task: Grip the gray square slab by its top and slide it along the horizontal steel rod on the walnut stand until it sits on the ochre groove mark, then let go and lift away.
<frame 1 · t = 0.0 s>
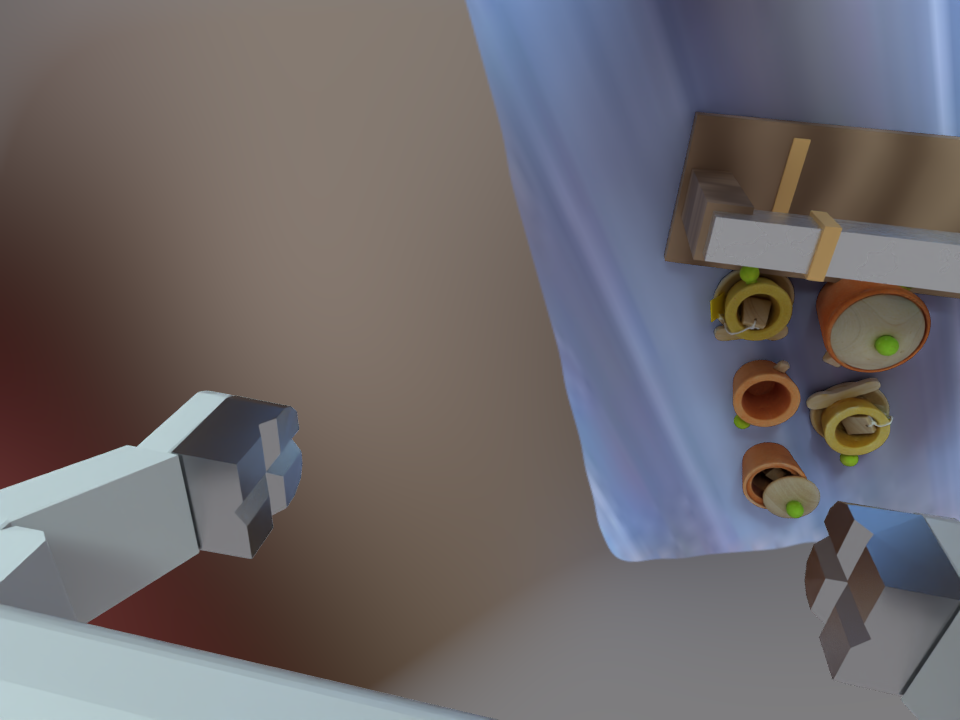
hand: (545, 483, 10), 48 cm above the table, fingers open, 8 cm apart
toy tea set: (801, 374, 60), on the table, touching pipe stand
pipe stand: (868, 208, 51), on the table
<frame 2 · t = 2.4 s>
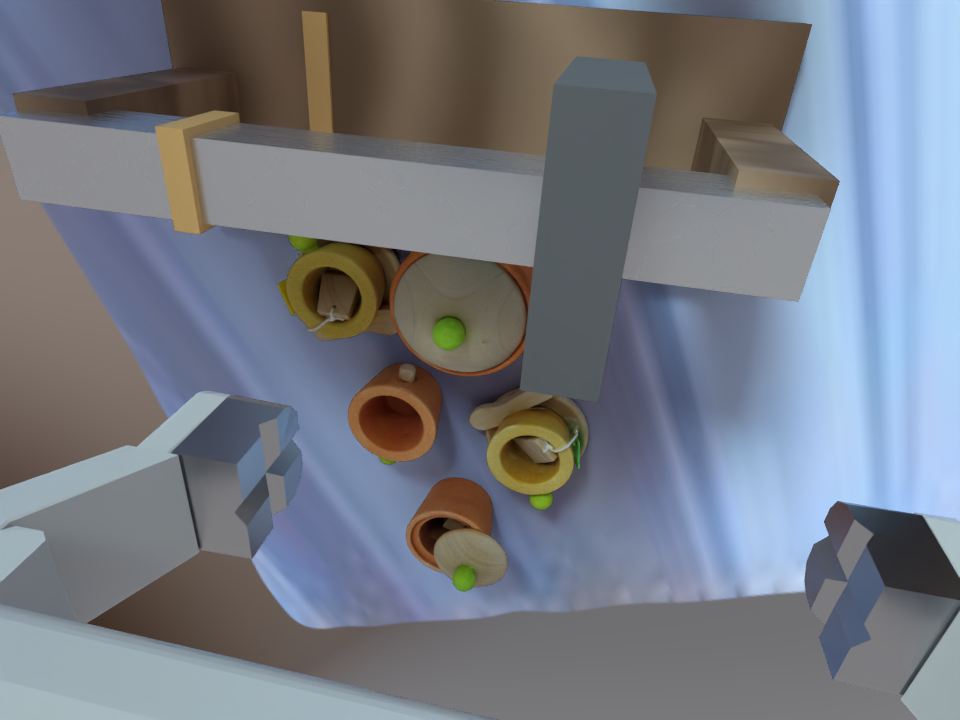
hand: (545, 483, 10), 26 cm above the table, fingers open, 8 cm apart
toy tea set: (464, 380, 41), on the table, touching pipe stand
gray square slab: (586, 215, 21), point 12 cm above the table, slide at 7.0 cm
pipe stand: (462, 131, 33), on the table
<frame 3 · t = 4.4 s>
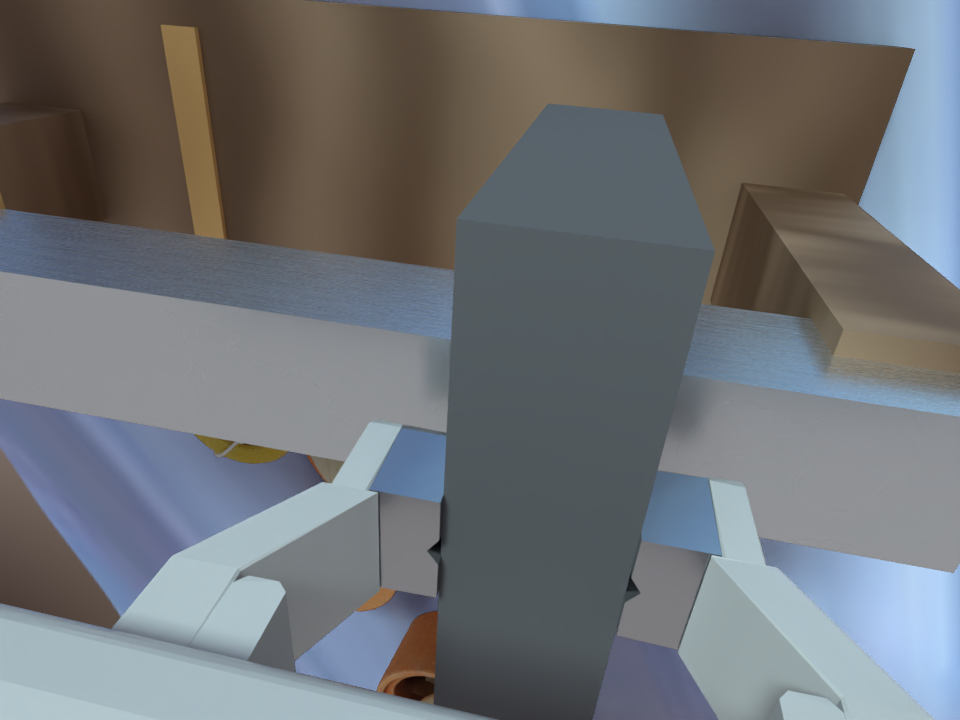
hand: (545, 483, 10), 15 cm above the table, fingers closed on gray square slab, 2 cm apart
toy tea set: (436, 493, 31), on the table, touching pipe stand
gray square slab: (561, 387, 12), point 12 cm above the table, slide at 7.0 cm, touching gripper
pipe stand: (400, 192, 23), on the table
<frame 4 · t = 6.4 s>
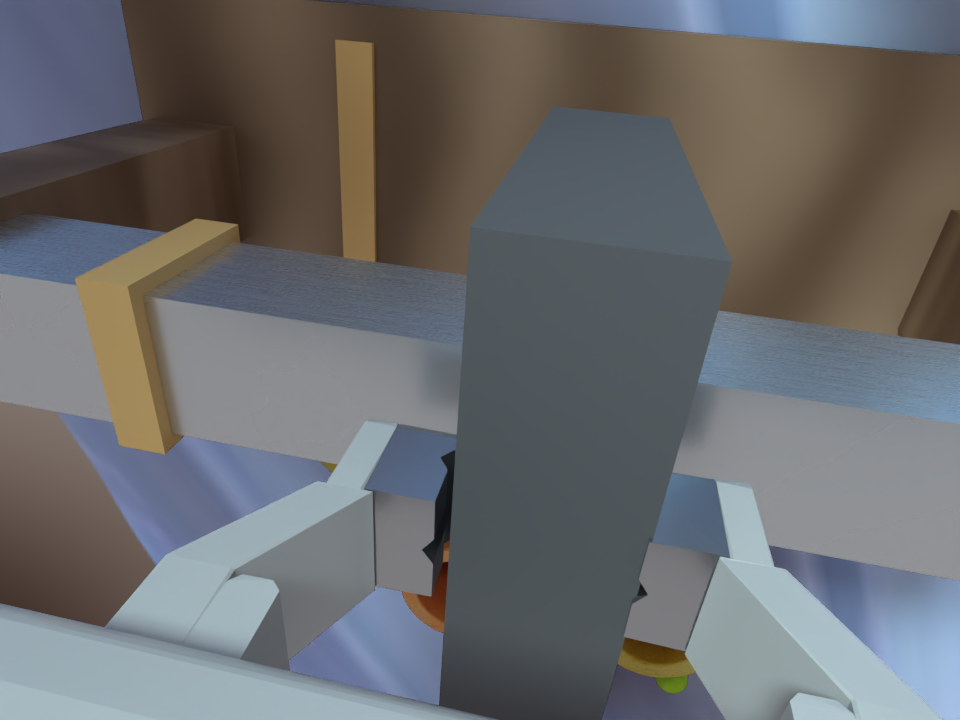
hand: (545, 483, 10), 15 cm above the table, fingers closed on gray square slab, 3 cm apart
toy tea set: (552, 518, 30), on the table, touching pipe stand
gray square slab: (566, 393, 12), point 12 cm above the table, slide at 1.1 cm, touching gripper
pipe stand: (561, 212, 23), on the table
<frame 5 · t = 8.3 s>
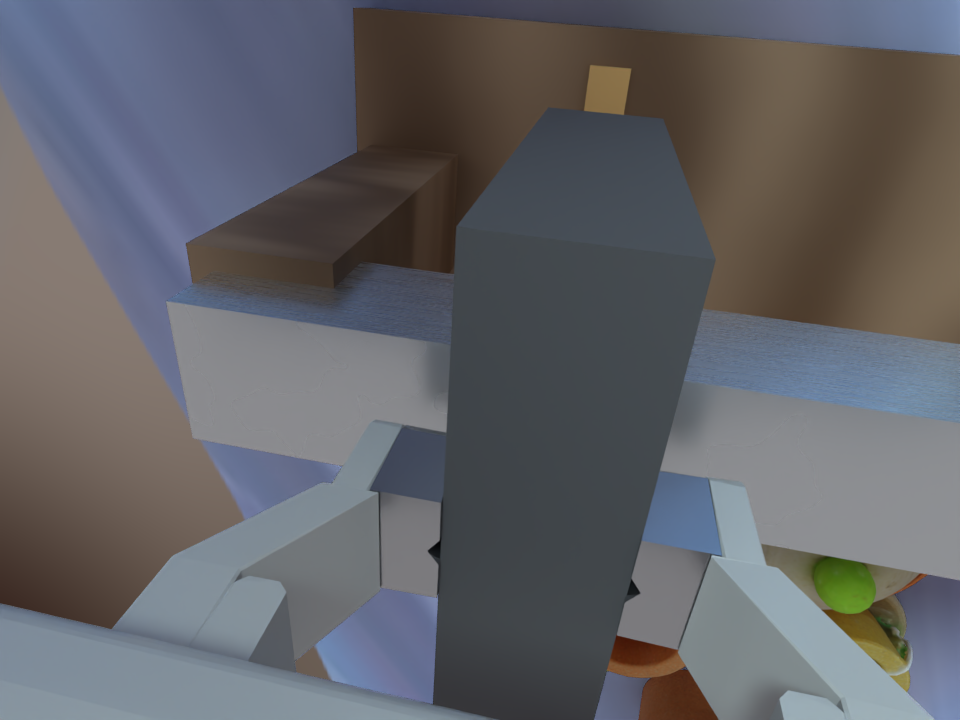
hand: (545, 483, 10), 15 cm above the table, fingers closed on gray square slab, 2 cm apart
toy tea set: (714, 552, 29), on the table, touching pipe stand
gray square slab: (561, 392, 12), point 12 cm above the table, slide at -6.9 cm, touching gripper
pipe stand: (793, 242, 22), on the table
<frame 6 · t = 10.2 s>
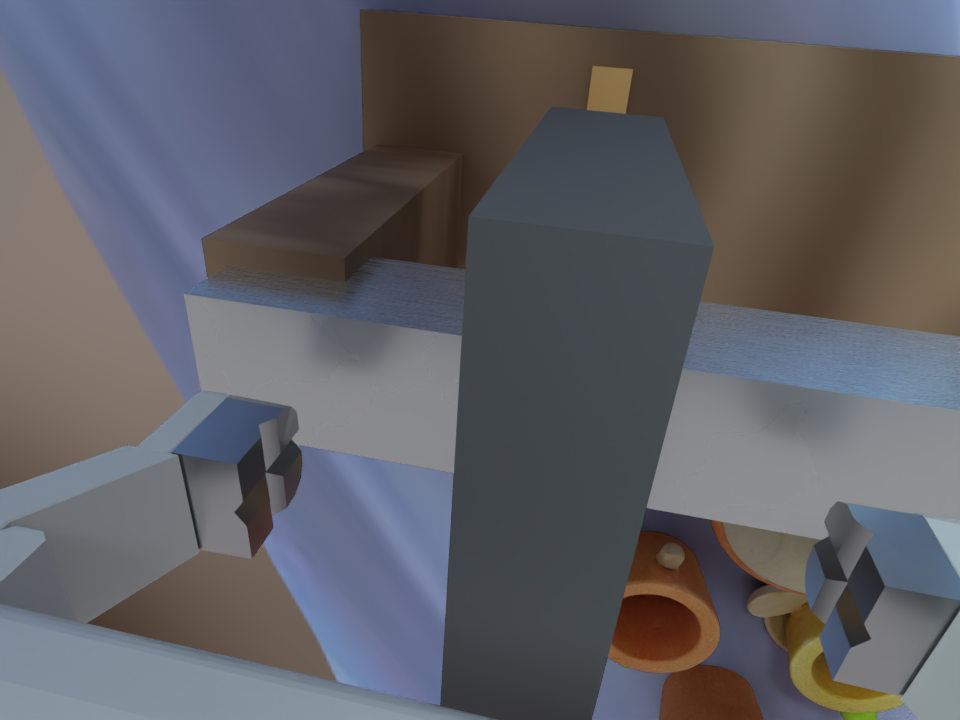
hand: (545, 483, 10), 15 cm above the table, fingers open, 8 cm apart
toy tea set: (730, 546, 30), on the table, touching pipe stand
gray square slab: (564, 383, 13), point 12 cm above the table, slide at -7.0 cm
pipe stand: (792, 240, 22), on the table
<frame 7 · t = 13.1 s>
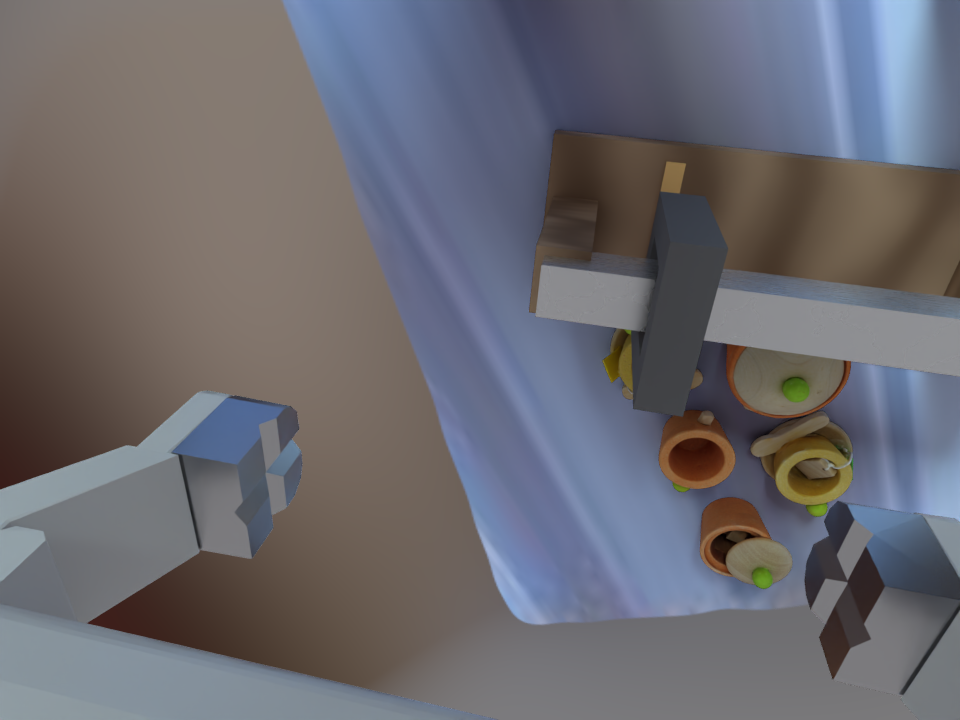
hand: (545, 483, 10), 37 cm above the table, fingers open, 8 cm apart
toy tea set: (739, 418, 51), on the table, touching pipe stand
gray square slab: (670, 298, 34), point 12 cm above the table, slide at -7.0 cm
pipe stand: (762, 243, 43), on the table
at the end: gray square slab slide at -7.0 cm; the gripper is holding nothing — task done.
